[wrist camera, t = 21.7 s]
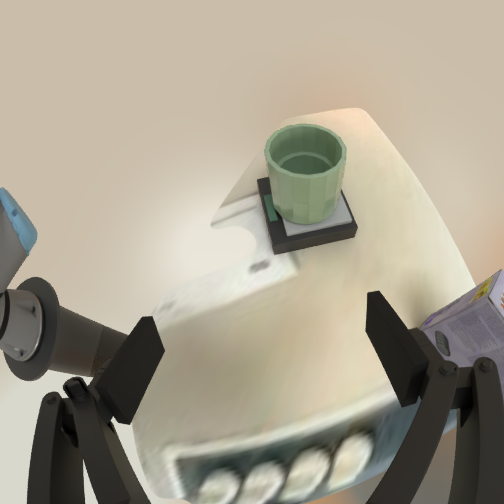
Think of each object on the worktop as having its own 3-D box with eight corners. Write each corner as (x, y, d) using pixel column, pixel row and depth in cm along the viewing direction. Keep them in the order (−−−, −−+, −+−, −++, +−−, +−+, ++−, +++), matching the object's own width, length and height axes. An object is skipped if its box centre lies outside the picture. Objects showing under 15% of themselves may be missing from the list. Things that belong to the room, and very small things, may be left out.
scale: (274, 255, 42) (272, 243, 39) (259, 190, 48) (256, 176, 45) (354, 237, 42) (358, 224, 38) (329, 176, 48) (330, 161, 44)
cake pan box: (493, 390, 26) (569, 376, 10) (477, 414, 25) (554, 413, 10) (432, 311, 34) (500, 263, 19) (412, 335, 34) (481, 297, 18)
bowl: (266, 221, 41) (256, 173, 32) (278, 170, 45) (272, 121, 36) (335, 231, 38) (345, 183, 29) (339, 178, 43) (346, 128, 33)
